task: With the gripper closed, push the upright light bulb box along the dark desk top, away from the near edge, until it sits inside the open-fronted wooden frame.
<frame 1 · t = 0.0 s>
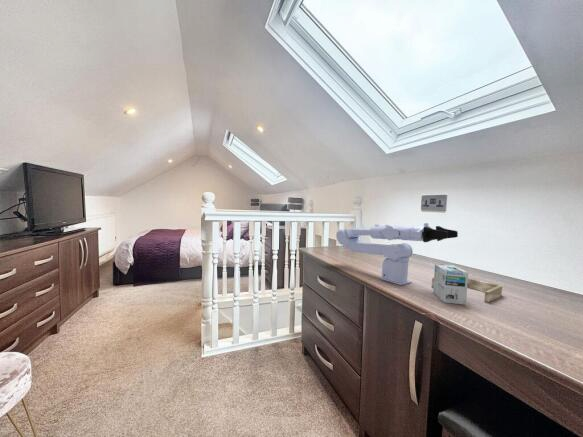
hand: (452, 234, 87), 22 cm above the table, tool horizontal, fingers open, 7 cm apart
light bulb box: (448, 299, 86), on the table
wooden frame: (464, 291, 94), on the table
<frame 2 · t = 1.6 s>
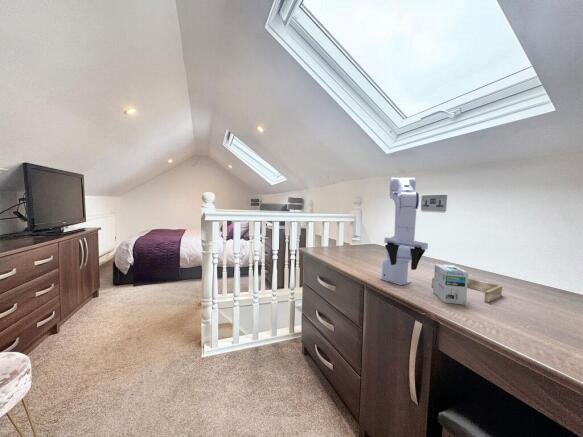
hand: (403, 266, 87), 10 cm above the table, tool pointing down, fingers open, 7 cm apart
nothing on the table moved.
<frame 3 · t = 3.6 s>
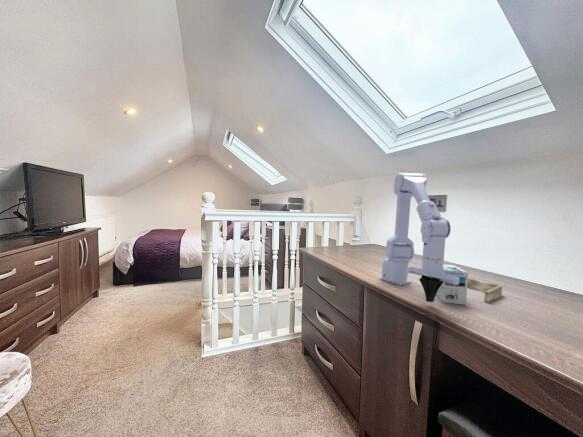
hand: (429, 301, 78), 1 cm above the table, tool pointing down, fingers closed
nothing on the table moved.
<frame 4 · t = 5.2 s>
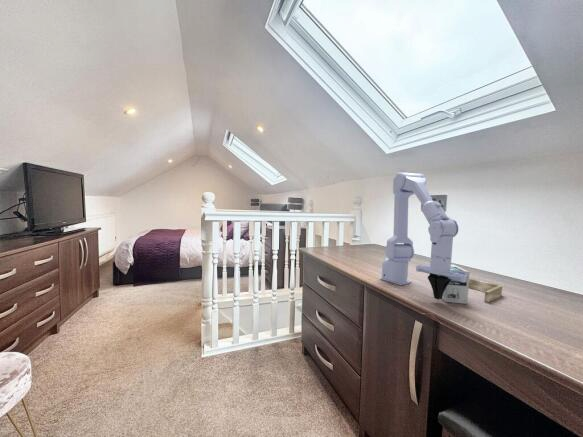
hand: (437, 298, 81), 1 cm above the table, tool pointing down, fingers closed
light bulb box: (449, 298, 86), on the table, touching gripper
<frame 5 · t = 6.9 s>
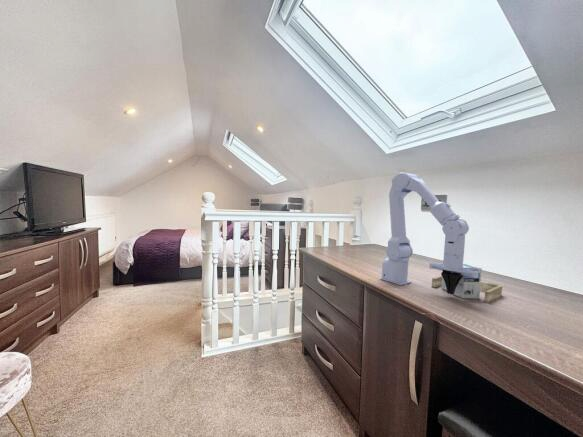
hand: (450, 293, 87), 1 cm above the table, tool pointing down, fingers closed
light bulb box: (459, 294, 91), on the table, touching gripper
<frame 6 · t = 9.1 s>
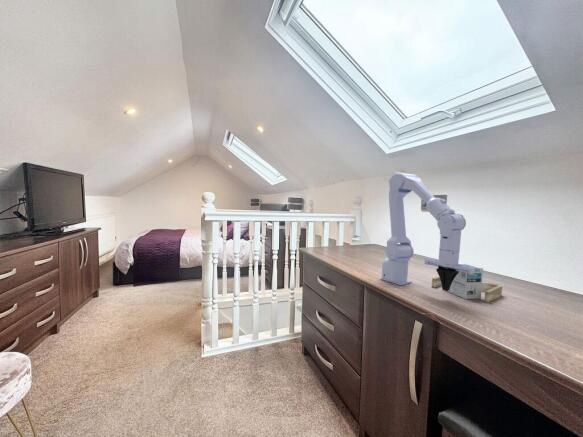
hand: (445, 289, 85), 3 cm above the table, tool pointing down, fingers closed
light bulb box: (460, 294, 91), on the table
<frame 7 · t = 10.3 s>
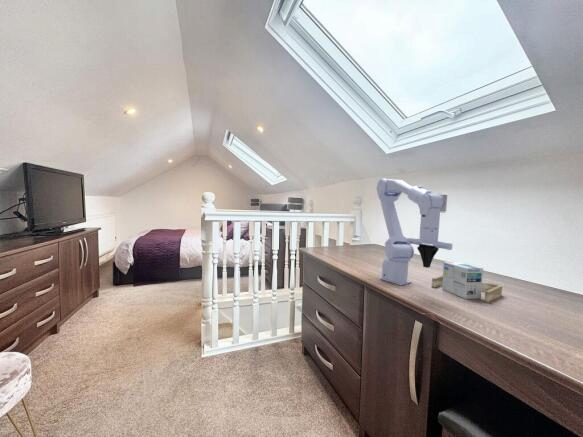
hand: (426, 266, 88), 10 cm above the table, tool pointing down, fingers closed
nothing on the table moved.
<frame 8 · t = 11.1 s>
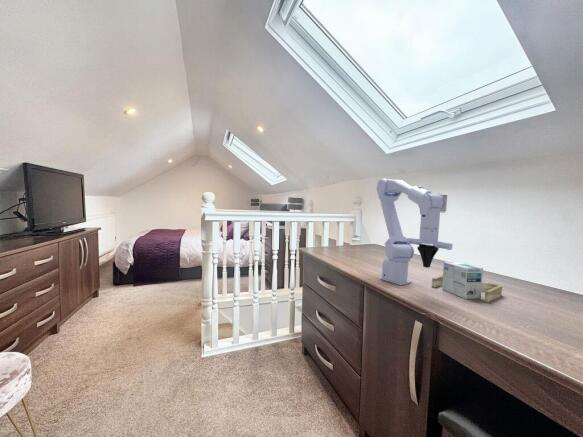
hand: (426, 266, 88), 10 cm above the table, tool pointing down, fingers closed
nothing on the table moved.
at the end: light bulb box inside the target area (4.5 cm from its centre), on the table; light bulb box tilted 0° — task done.
